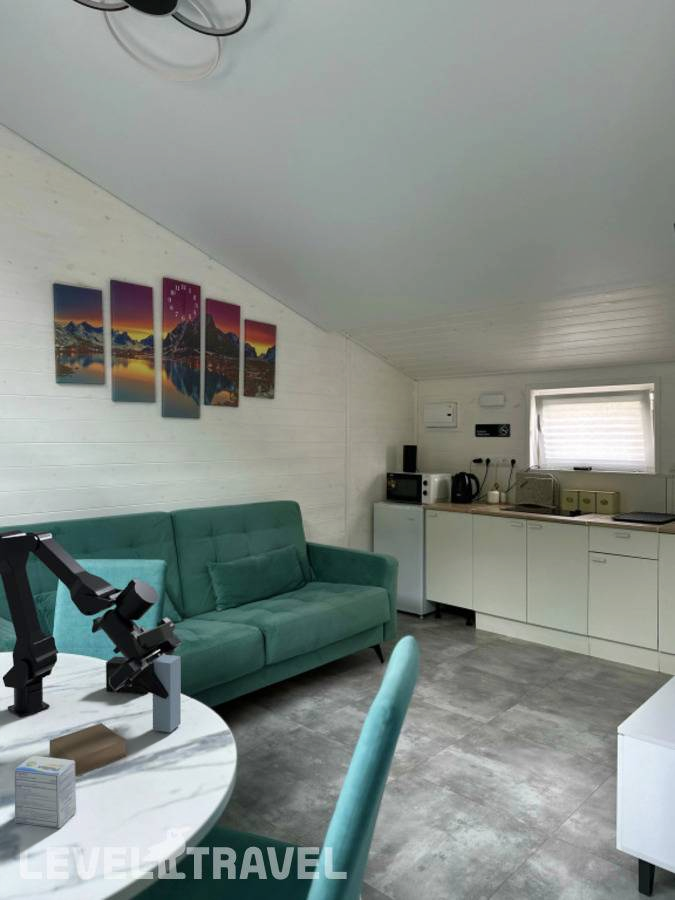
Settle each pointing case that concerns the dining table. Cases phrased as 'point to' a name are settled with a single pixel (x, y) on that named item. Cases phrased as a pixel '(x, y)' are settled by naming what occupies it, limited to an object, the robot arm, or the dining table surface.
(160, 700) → the slate pillar
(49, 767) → the medicine box
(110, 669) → the digital camera
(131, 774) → the dining table surface
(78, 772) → the walnut block
